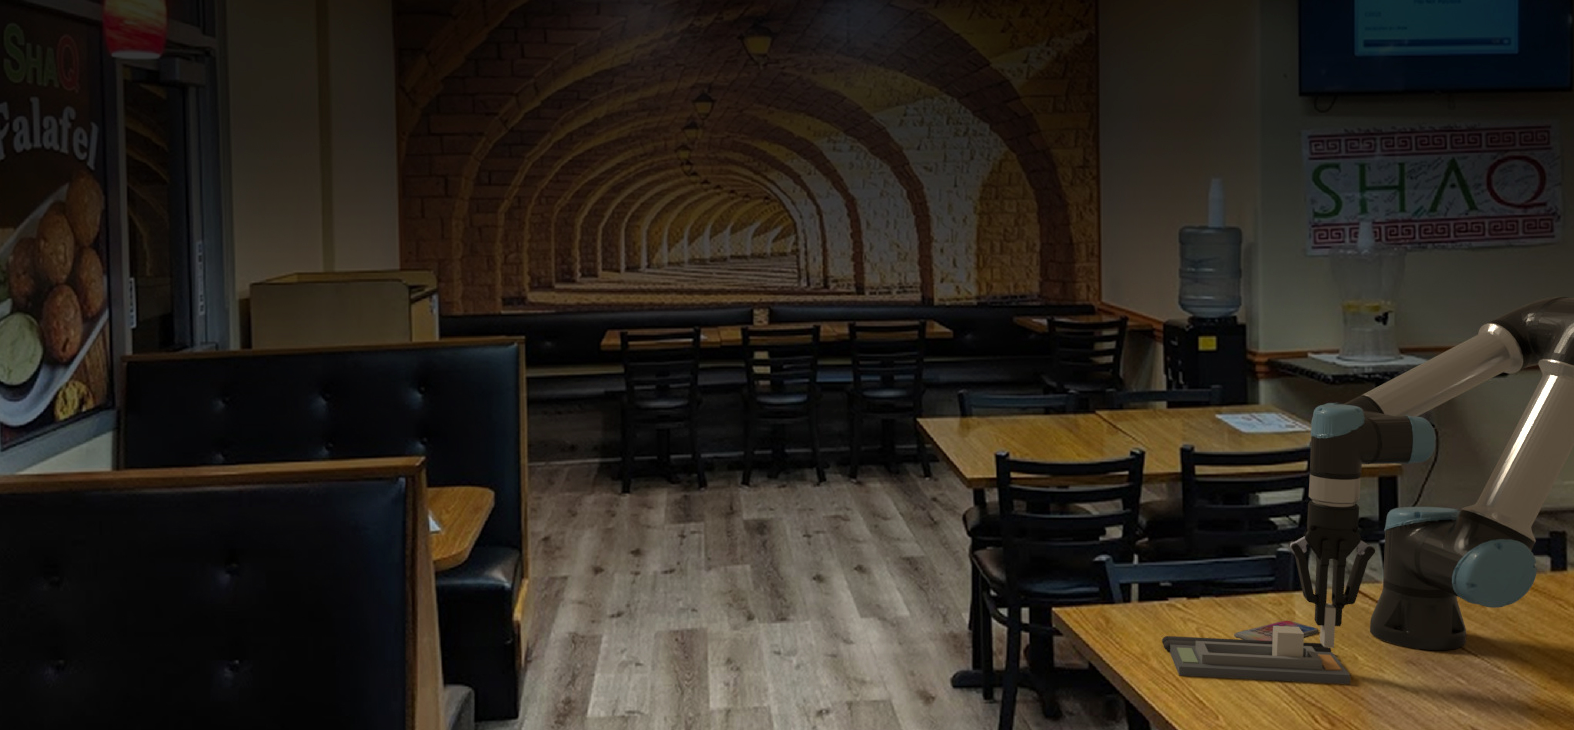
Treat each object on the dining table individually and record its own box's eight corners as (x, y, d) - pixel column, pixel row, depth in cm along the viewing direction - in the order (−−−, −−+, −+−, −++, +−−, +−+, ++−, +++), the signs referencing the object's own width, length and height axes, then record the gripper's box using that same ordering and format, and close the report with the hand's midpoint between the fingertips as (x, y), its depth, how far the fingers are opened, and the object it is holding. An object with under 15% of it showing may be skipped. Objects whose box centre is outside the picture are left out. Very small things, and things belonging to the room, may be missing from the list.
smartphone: (1231, 632, 225) (1286, 619, 233) (1230, 638, 225) (1286, 624, 233) (1266, 643, 219) (1321, 629, 226) (1265, 649, 219) (1321, 634, 226)
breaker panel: (1331, 660, 211) (1332, 643, 211) (1349, 684, 201) (1350, 665, 200) (1170, 653, 216) (1170, 635, 215) (1179, 675, 205) (1179, 657, 204)
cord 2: (1328, 656, 214) (1328, 646, 213) (1331, 660, 212) (1331, 649, 212) (1162, 648, 218) (1163, 638, 218) (1164, 652, 216) (1164, 641, 216)
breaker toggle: (1297, 656, 209) (1298, 626, 208) (1302, 663, 205) (1303, 633, 205) (1271, 655, 209) (1273, 625, 209) (1276, 662, 206) (1277, 632, 205)
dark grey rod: (1325, 652, 216) (1325, 642, 216) (1327, 655, 214) (1328, 645, 214) (1161, 644, 220) (1161, 634, 220) (1162, 647, 218) (1162, 637, 218)
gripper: (1370, 498, 206) (1362, 639, 208) (1285, 495, 208) (1279, 635, 211) (1384, 508, 199) (1376, 654, 201) (1296, 505, 201) (1289, 650, 203)
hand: (1326, 644), depth 206 cm, fingers closed
